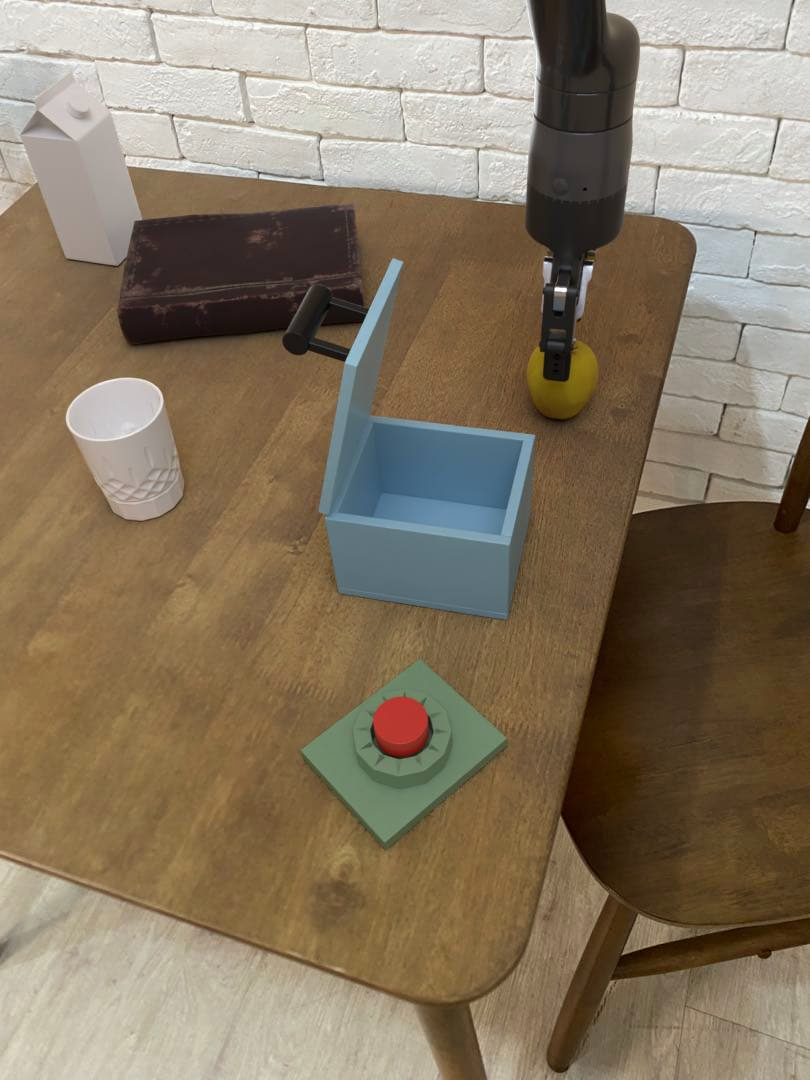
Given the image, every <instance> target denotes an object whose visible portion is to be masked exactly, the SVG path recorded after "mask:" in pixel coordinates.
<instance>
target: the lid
mask: <svg viewBox="0 0 810 1080" xmlns="http://www.w3.org/2000/svg"><path fill="white" fill-rule="evenodd" d="M403 267H404V261H402V260H399V259H397V258H392V259H391V261H390V263H389V265H388V268H387V270H386V271H385V274H384V276H383V278H382V280H381V283H380V285H379V286H378V289H377V291H376V294H375V296H374V298H373V300H372V303H371V305H370V307H366V306H365V307H362V306H359V305H356V304H353V303H349V302H346V301H343V300H340V299H337V298H334V297H333V295H332V293H331V291H330V290H329V289H328V288H327V287H325V286H323V285H313V286H311V287H310V288H309V290H308V292H307V294H306V295H305V297H304V299H303V301H302V303H301V305H300V307H299V308H298V310H297V312H296V314H295V316H294V318H293V319H292V321H291V323H290V325H289V327H287V328H286V331H285V332H284V334H283V336H282V339H281V343H282V346H283V347H284V349H285V350H286V351H287V352H288V353H289V354H291V355H294V356H304V355H305V354H307V353H308V352H311V353H315V354H318V355H321V356H324V357H328V358H331V359H334V360H336V361H340V362H344V364H343V371H342V375H341V382H340V388H339V393H338V400H337V405H336V410H335V415H334V421H333V427H332V433H331V438H330V444H329V449H328V454H327V461H326V466H325V470H324V477H323V483H322V488H321V495H320V500H319V505H318V513H319V514H321V515H325V516H326V515H329V513H330V511H331V508H332V506H333V503H334V501H335V499H336V496H337V494H338V491H339V489H340V486H341V484H342V481H343V479H344V476H345V474H346V472H347V469H348V467H349V464H350V462H351V459H352V457H353V454H354V452H355V450H356V447H357V445H358V442H359V440H360V437H361V435H362V432H363V430H364V427H365V425H366V423H367V420H368V418H369V415H370V416H371V413H372V409H373V404H374V399H375V395H376V389H377V385H378V381H379V376H380V372H381V368H382V364H383V359H384V358H383V357H384V354H385V350H386V349H385V348H386V345H387V341H388V335H389V330H390V326H391V320H392V317H393V313H394V308H395V304H396V300H397V299H396V298H397V293H398V290H399V285H400V280H401V276H402V270H403ZM328 310H329V311H332V312H335V313H339V314H342V315H345V316H348V317H351V318H354V319H358V320H361V321H360V322H362V324H361V326H360V329H359V330H358V332H357V336H356V337H355V339H354V341H353V344H352V346H351V348H349V347H347V346H343V345H339V344H337V343H333V342H332V341H331V342H330V341H327V340H325V339H321V338H318V337H316V336H317V334H318V332H319V331H320V328H321V325H323V324H322V322H323V320H324V318H325V316H326V314H327V312H328Z"/></svg>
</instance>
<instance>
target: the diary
mask: <svg viewBox="0 0 810 1080" xmlns="http://www.w3.org/2000/svg"><path fill="white" fill-rule="evenodd" d="M361 264H362V263H361V253H360V245H359V235H358V228H357V217H356V207H355V203H354V202H344V203H336V204H335V203H334V204H325V205H317V206H307V207H296V208H286V209H275V210H267V211H257V212H256V211H255V212H246V213H245V212H244V213H243V212H242V213H241V212H240V213H206V214H205V213H201V214H186V215H177V216H167V217H166V216H165V217H157V218H148V219H142V220H138V221H134V225H133V230H132V234H131V239H130V243H129V248H128V253H127V257H126V258H125V262H124V269H123V274H122V280H121V286H120V292H119V297H118V298H119V299H118V304H117V308H116V313H117V318H118V323H119V327H120V330H121V333H122V335H123V338H124V339H125V341H126V343H127V344H128V345H139V344H147V343H153V342H162V341H169V340H177V339H183V338H184V339H186V338H193V337H206V336H217V335H218V336H220V335H233V334H246V333H247V334H248V333H255V332H263V331H270V330H278V329H288V327H289V325H290V323H291V321H292V319H293V318H294V316H295V314H296V312H297V310H298V308H299V307H300V305H301V303H302V301H303V299H304V297H305V295H306V294H307V292H308V290H309V288H310V287H311V286H313V285H323V286H325V287H327V288H328V289H329V290H330V291H331V293H332V295H333V297H334V298H337V299H340V300H343V301H346V302H349V303H353V304H356V305H359V306H362V307H365V308H366V305H365V293H364V283H363V275H362V265H361ZM356 322H362V321H361V320H358V319H354V318H351V317H348V316H345V315H342V314H339V313H335V312H332V311H329V310H328V312H327V314H326V316H325V318H324V320H323V322H322V324H321V325H324V324H327V325H328V324H342V323H356Z"/></svg>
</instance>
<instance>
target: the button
mask: <svg viewBox="0 0 810 1080" xmlns="http://www.w3.org/2000/svg"><path fill="white" fill-rule="evenodd" d="M373 725H374V731H375V737H376V741H377V743H378V745H379V747H380V748H381V749H382V750H383V751H384V752H386V753H387V754H389V755H392V756H395V757H407V756H411V755H413V754H415V753H417V752H419V751H420V750H421V749H422V748H423V747H424V746H425V744H426V742H427V740H428V736H429V727H428V716H427V713H426V710H425V708H424V707H423V706H422V705H421V704H420V703H419V702H418V701H416V700H414V699H412V698H409V697H394V698H391V699H389V700H387V701H385V702H384V703H382V704H381V705H380V706H379V707H378V709H377V710H376V712H375V714H374V718H373Z"/></svg>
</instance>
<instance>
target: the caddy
mask: <svg viewBox="0 0 810 1080" xmlns="http://www.w3.org/2000/svg"><path fill="white" fill-rule="evenodd" d="M535 445H536V434H531V433H522V432H514V431H505V430H496V429H488V428H480V427H471V426H464V425H463V426H461V425H456V424H455V425H454V424H447V423H437V422H428V421H421V420H413V419H405V418H404V419H403V418H395V417H386V416H379V415H371V414H370V415H369V418H368V420H367V423H366V425H365V427H364V430H363V432H362V435H361V437H360V440H359V442H358V445H357V447H356V450H355V452H354V454H353V457H352V459H351V462H350V464H349V467H348V469H347V472H346V474H345V476H344V479H343V481H342V484H341V486H340V489H339V491H338V494H337V496H336V499H335V501H334V503H333V506H332V508H331V511H330V513H329V515H325V517H324V523H325V528H326V529H325V530H326V533H327V540H328V546H329V551H330V556H331V561H332V567H333V572H334V578H335V582H336V587H337V588H336V589H337V593H338V594H339V595H347V596H353V597H359V598H365V599H372V600H378V601H385V602H391V603H396V604H403V605H408V606H415V607H422V608H427V609H428V608H429V609H433V610H434V609H435V610H441V611H447V612H453V613H458V614H459V613H460V614H465V615H472V616H477V617H478V616H479V617H483V618H484V617H485V618H491V619H496V620H502V621H508V619H509V615H510V610H511V606H512V601H513V597H514V592H515V587H516V583H517V579H518V574H519V569H520V564H521V561H522V560H521V559H522V555H523V552H524V551H523V550H524V546H525V542H526V537H527V532H528V527H529V524H530V523H529V522H530V518H531V514H532V501H533V500H532V499H533V484H534V483H533V482H534V465H535V463H534V462H535Z"/></svg>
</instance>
